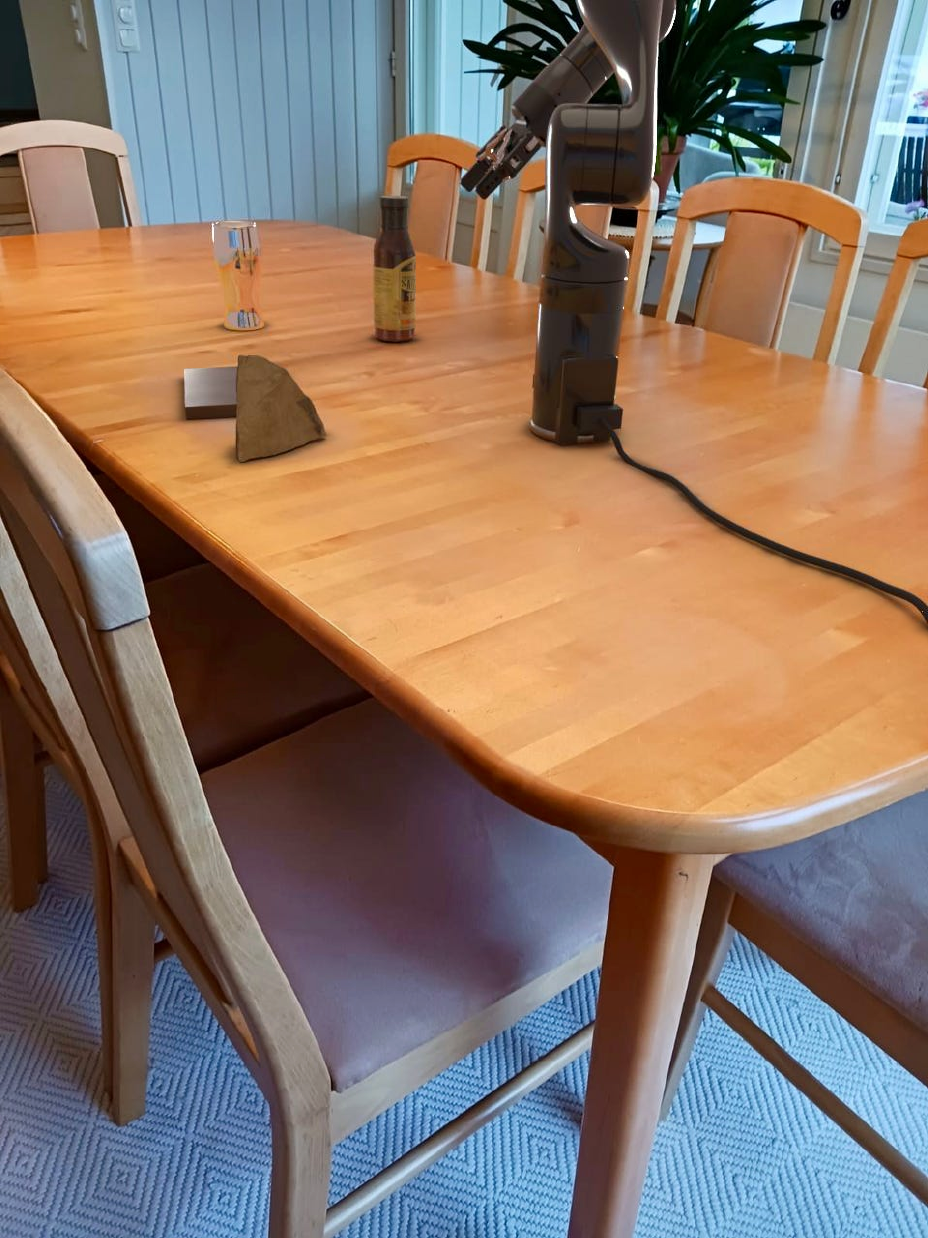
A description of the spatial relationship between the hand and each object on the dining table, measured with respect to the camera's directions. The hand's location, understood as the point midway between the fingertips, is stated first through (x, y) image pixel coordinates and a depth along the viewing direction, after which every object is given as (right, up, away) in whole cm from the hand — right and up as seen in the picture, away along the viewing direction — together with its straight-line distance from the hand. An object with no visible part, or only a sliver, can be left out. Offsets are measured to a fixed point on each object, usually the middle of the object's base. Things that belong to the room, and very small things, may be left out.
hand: (471, 191), depth 135 cm
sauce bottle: (-12, -19, +8) cm, 24 cm away
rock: (-21, -43, -33) cm, 58 cm away
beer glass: (-36, -16, +12) cm, 41 cm away
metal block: (-29, -34, -19) cm, 49 cm away
